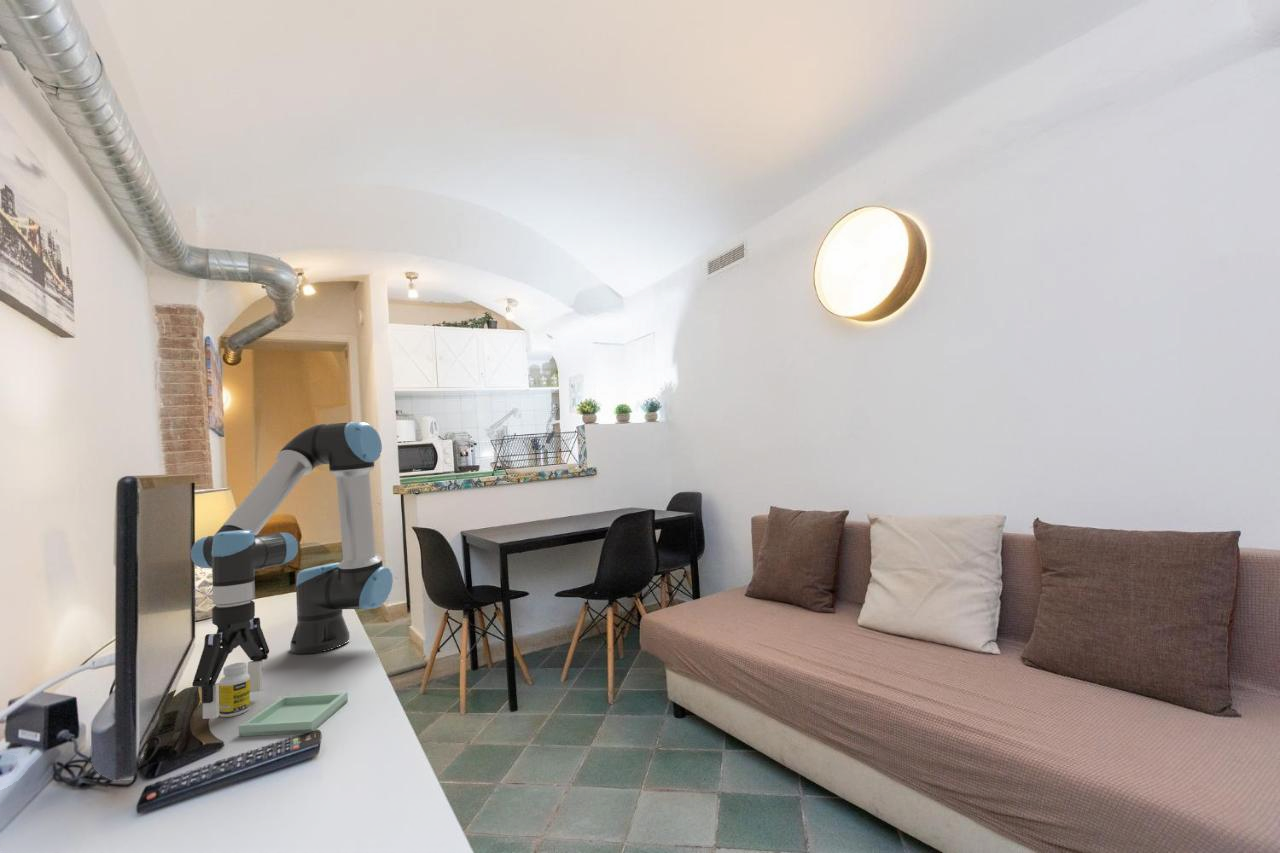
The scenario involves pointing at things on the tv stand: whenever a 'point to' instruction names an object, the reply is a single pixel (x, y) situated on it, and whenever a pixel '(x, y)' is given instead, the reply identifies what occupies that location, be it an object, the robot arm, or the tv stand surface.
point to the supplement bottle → (234, 690)
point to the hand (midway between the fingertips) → (234, 703)
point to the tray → (294, 714)
